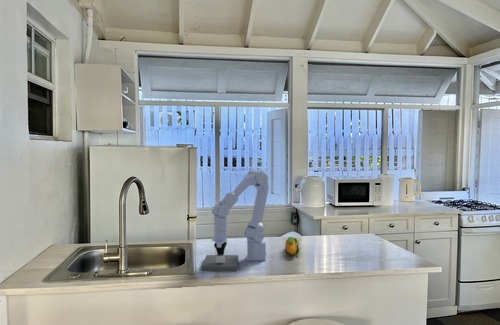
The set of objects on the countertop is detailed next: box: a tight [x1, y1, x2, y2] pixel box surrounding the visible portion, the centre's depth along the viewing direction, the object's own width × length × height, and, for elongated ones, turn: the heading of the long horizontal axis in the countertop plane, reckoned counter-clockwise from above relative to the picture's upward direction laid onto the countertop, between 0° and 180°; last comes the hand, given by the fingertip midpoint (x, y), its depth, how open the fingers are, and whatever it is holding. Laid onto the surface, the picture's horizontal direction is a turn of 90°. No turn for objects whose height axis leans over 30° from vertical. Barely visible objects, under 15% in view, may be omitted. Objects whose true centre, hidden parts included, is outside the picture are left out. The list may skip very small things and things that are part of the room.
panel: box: [201, 254, 240, 272], centre depth 160 cm, size 16×16×2 cm
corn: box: [284, 236, 300, 256], centre depth 177 cm, size 7×8×20 cm
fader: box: [215, 254, 226, 263], centre depth 157 cm, size 4×2×3 cm, turn 90°
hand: (220, 258), depth 159 cm, fingers closed
